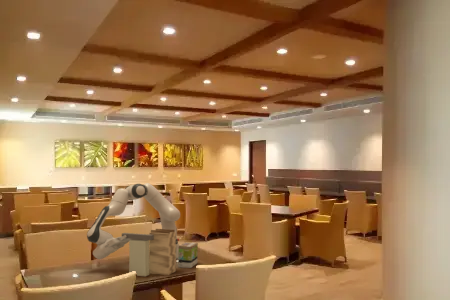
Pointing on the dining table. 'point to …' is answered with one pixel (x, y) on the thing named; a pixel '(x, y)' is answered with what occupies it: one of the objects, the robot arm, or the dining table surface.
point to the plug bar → (139, 236)
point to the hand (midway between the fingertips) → (128, 235)
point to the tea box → (188, 255)
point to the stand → (162, 252)
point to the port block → (139, 256)
